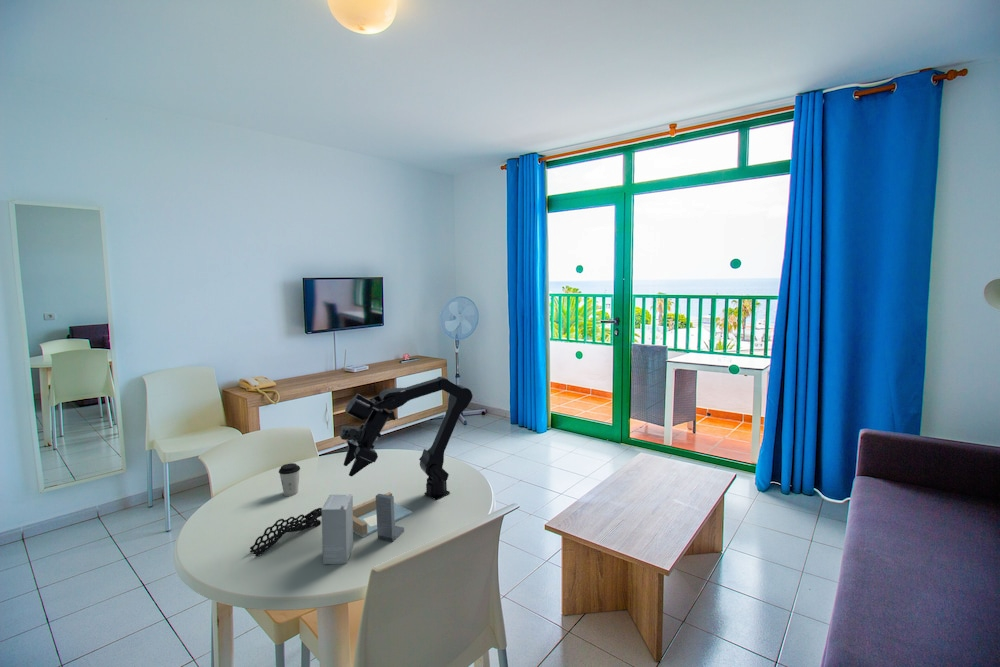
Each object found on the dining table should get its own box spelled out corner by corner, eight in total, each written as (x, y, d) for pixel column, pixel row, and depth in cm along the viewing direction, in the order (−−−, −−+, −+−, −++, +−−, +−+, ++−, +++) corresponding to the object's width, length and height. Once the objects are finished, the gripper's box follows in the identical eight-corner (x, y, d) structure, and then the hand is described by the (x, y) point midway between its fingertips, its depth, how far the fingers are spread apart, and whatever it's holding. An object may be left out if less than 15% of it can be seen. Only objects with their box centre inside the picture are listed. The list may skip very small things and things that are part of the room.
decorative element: (258, 560, 124) (257, 539, 124) (248, 554, 127) (246, 534, 126) (328, 522, 143) (327, 504, 143) (317, 518, 146) (316, 500, 145)
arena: (389, 502, 155) (389, 491, 155) (412, 513, 147) (411, 502, 147) (340, 523, 142) (340, 512, 141) (362, 537, 134) (362, 525, 133)
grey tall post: (389, 528, 139) (387, 487, 137) (404, 531, 137) (402, 489, 135) (377, 538, 133) (375, 495, 132) (392, 542, 131) (390, 498, 130)
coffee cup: (305, 489, 166) (303, 462, 165) (295, 498, 159) (293, 470, 158) (287, 488, 167) (285, 461, 166) (276, 497, 160) (274, 469, 159)
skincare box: (330, 547, 129) (327, 493, 127) (356, 546, 130) (353, 492, 128) (321, 566, 121) (317, 508, 119) (349, 564, 121) (346, 507, 119)
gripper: (345, 408, 152) (320, 451, 150) (357, 423, 136) (328, 471, 133) (375, 422, 157) (350, 464, 155) (389, 438, 141) (362, 485, 138)
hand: (347, 470), depth 145 cm, fingers open, 9 cm apart
